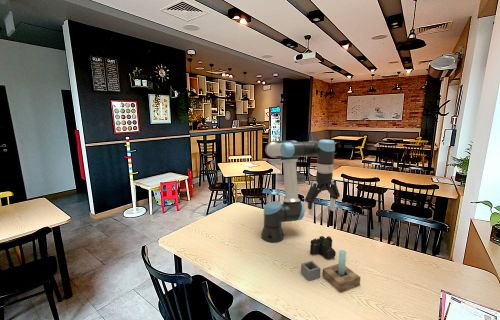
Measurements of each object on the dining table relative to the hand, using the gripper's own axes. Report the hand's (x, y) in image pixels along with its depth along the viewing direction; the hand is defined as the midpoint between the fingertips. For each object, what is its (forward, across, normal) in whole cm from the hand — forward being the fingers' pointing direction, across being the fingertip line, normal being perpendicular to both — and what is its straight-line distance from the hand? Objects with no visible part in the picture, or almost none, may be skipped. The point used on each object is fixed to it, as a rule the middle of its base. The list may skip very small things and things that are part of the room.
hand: (321, 212), depth 117 cm
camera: (+32, +11, +8) cm, 35 cm away
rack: (+31, +3, -13) cm, 34 cm away
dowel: (+31, +3, -13) cm, 34 cm away
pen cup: (+31, -8, -4) cm, 33 cm away
